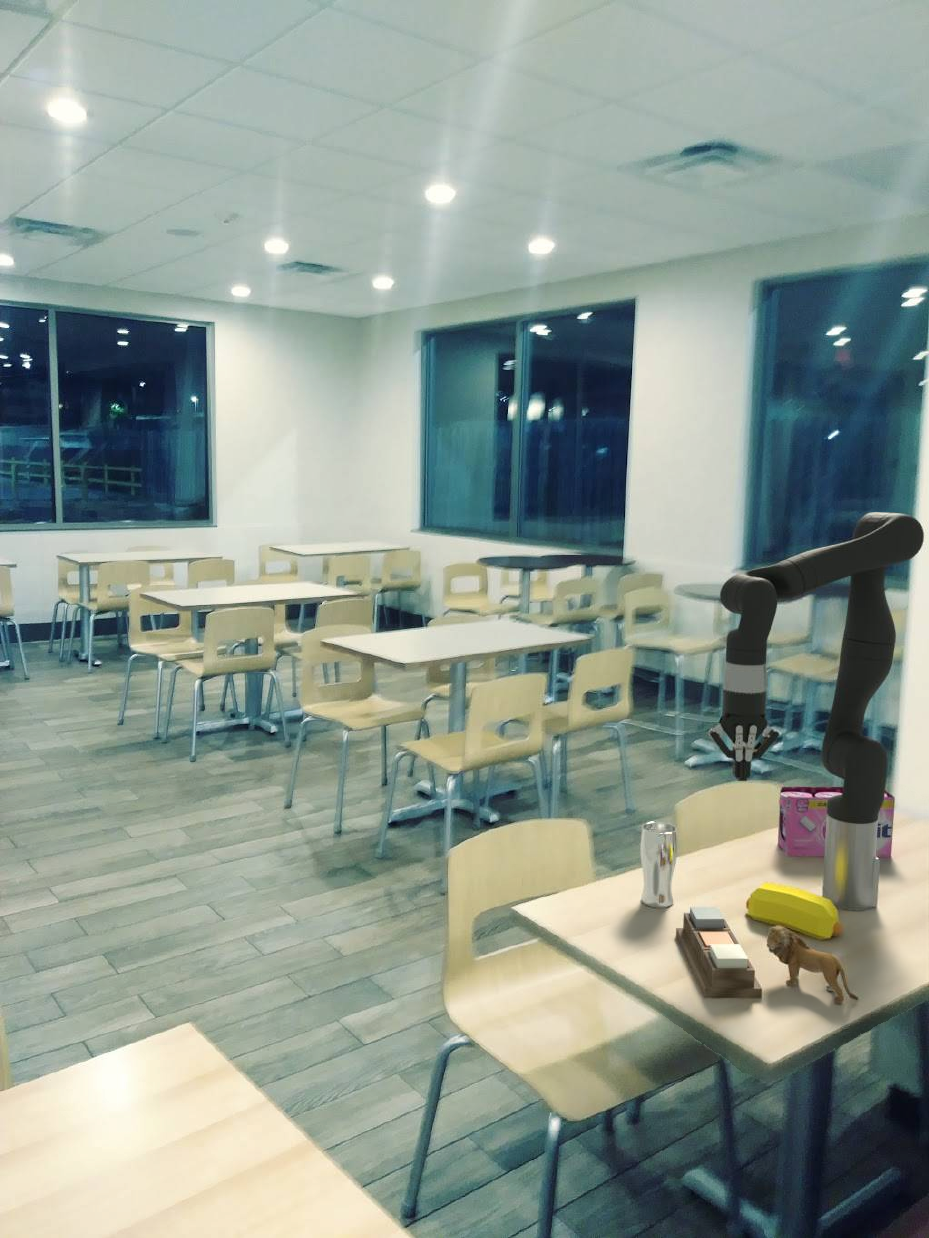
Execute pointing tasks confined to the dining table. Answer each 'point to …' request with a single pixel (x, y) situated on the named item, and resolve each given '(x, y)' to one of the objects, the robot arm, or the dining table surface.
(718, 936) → the terracotta button
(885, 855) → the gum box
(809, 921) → the ripe banana
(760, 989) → the button board
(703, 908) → the slate button
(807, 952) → the lion figurine
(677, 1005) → the dining table surface
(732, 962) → the ivory button
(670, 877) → the beer glass
